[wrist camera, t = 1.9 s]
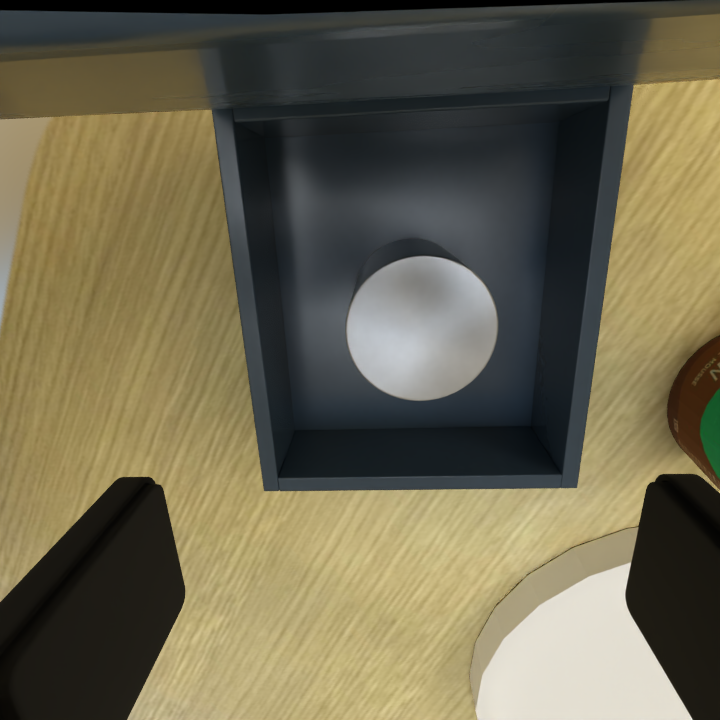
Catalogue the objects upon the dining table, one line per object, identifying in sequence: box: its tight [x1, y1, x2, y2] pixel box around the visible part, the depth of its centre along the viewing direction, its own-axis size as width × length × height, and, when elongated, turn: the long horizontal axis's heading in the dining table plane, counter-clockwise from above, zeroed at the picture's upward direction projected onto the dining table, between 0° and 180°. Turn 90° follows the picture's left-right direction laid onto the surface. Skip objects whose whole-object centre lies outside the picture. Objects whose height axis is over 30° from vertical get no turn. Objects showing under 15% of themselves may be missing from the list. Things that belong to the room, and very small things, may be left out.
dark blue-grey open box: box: [212, 85, 633, 491], centre depth 22 cm, size 18×16×6 cm
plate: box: [469, 527, 693, 720], centre depth 33 cm, size 28×28×2 cm
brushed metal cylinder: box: [345, 238, 498, 401], centre depth 21 cm, size 6×6×7 cm
